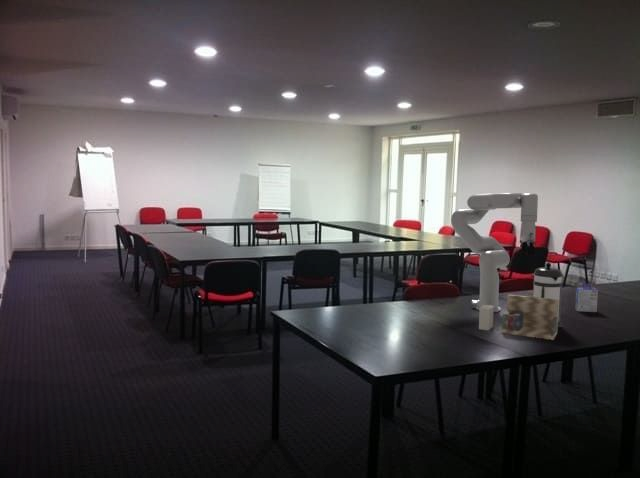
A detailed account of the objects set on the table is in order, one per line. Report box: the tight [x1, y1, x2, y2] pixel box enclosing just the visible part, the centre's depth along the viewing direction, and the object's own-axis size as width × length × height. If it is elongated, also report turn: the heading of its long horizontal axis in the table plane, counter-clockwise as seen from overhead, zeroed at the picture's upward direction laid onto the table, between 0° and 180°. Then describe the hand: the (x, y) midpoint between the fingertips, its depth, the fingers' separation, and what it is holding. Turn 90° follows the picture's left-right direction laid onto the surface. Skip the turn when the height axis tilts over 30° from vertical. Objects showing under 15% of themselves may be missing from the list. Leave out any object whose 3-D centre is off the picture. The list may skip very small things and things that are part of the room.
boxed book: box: [478, 305, 494, 331], centre depth 253 cm, size 4×8×10 cm, turn 149°
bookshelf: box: [500, 294, 559, 341], centre depth 244 cm, size 22×12×16 cm, turn 59°
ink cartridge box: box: [574, 283, 599, 313], centre depth 288 cm, size 10×6×14 cm, turn 78°
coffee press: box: [532, 262, 564, 328], centre depth 260 cm, size 17×16×30 cm
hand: (527, 253), depth 268 cm, fingers open, 9 cm apart
